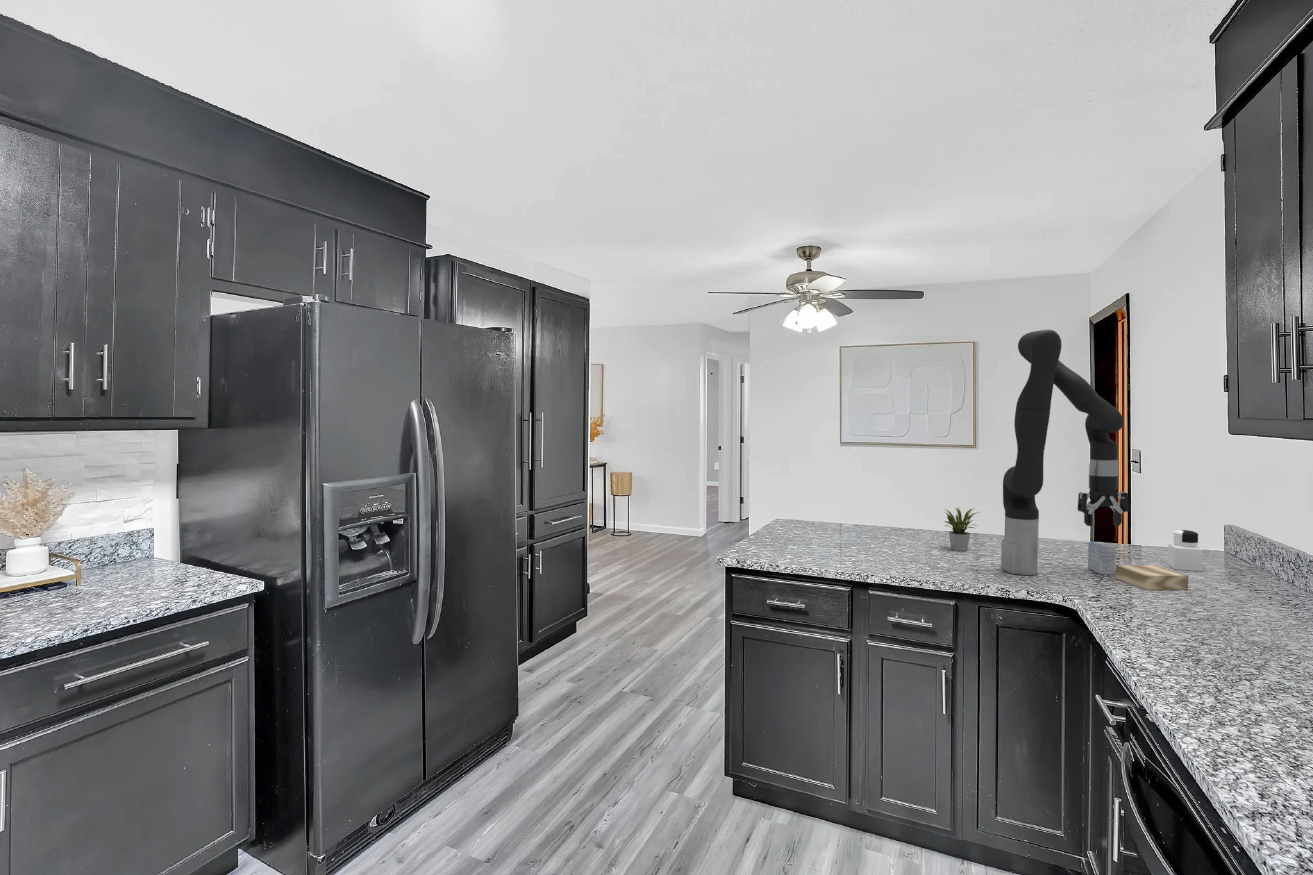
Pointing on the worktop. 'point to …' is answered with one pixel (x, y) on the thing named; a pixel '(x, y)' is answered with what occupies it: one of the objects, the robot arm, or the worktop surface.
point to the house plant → (959, 530)
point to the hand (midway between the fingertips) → (1102, 525)
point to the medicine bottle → (1185, 551)
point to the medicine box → (1101, 558)
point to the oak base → (1152, 577)
